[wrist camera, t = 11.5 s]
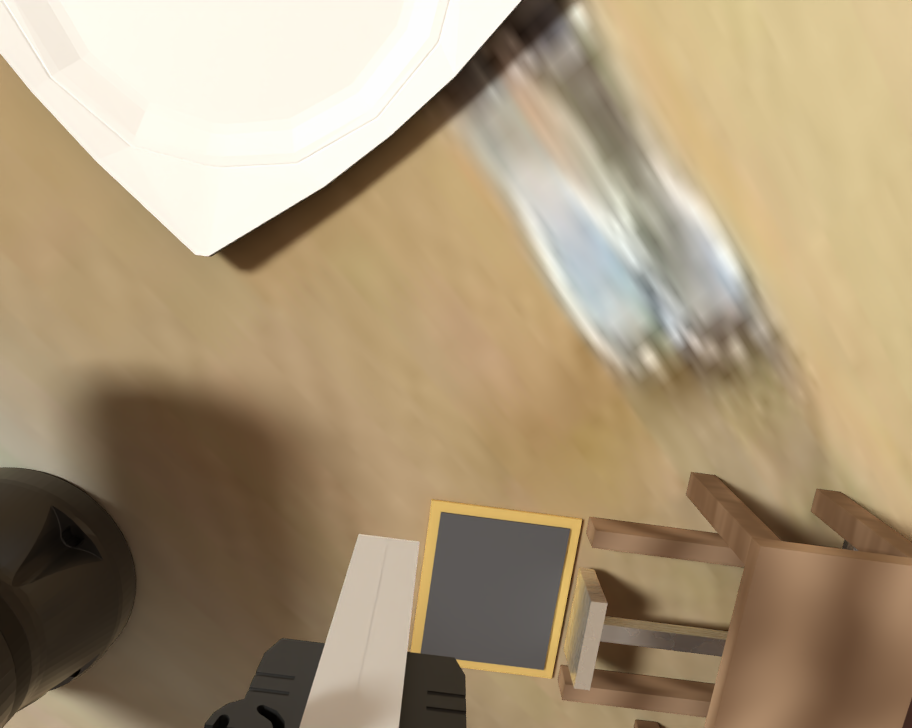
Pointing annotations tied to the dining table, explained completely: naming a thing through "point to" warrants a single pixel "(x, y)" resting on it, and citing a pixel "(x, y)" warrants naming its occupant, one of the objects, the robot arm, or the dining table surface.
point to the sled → (625, 631)
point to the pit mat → (494, 587)
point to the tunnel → (782, 620)
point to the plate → (237, 92)
